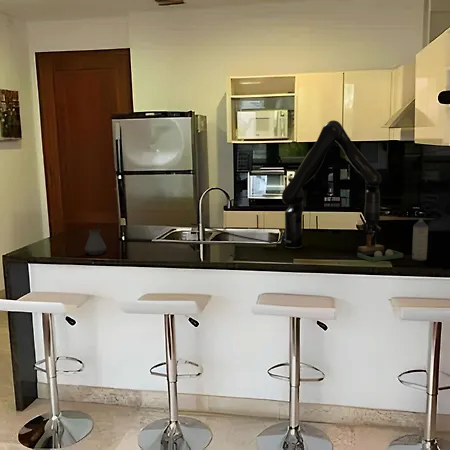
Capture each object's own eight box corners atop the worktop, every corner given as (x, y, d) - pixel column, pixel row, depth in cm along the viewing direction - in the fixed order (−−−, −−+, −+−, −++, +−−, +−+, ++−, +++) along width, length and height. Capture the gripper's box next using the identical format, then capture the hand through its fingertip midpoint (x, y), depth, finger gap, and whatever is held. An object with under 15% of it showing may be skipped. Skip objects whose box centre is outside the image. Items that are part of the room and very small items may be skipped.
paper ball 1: (372, 258, 266) (372, 250, 265) (378, 257, 267) (379, 249, 266) (377, 260, 262) (377, 252, 261) (383, 259, 263) (384, 251, 262)
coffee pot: (104, 255, 285) (102, 227, 282) (82, 256, 285) (80, 228, 282) (111, 246, 306) (110, 221, 303) (91, 247, 306) (89, 221, 303)
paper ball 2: (382, 255, 268) (384, 248, 265) (388, 254, 269) (391, 247, 267) (387, 259, 264) (389, 253, 262) (393, 258, 266) (396, 252, 264)
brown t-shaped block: (357, 253, 274) (357, 235, 272) (378, 250, 279) (378, 232, 277) (363, 255, 269) (363, 236, 268) (384, 252, 274) (385, 234, 272)
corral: (356, 256, 269) (357, 252, 269) (388, 252, 276) (388, 248, 276) (371, 261, 259) (371, 257, 259) (403, 257, 266) (403, 253, 266)
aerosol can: (423, 257, 265) (424, 217, 262) (429, 260, 258) (431, 219, 255) (409, 257, 265) (411, 218, 261) (415, 261, 258) (417, 220, 255)
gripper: (387, 212, 265) (385, 246, 268) (369, 208, 278) (368, 241, 281) (374, 213, 262) (373, 248, 265) (357, 209, 275) (356, 242, 278)
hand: (371, 244), depth 273 cm, fingers closed on brown t-shaped block, 2 cm apart
